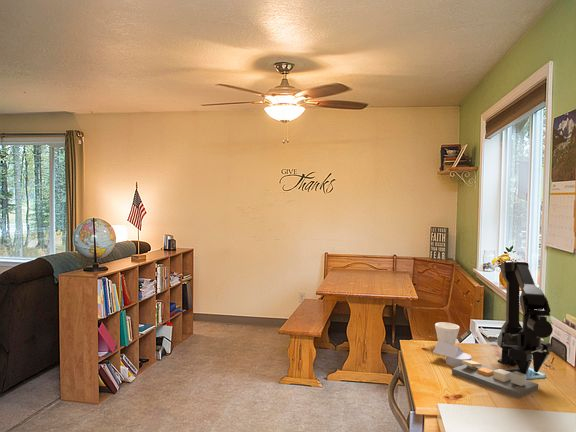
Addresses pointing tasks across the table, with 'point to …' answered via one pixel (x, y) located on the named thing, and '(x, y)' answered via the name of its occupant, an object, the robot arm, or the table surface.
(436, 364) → the table surface
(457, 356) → the wedge on round base
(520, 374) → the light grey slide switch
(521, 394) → the control panel
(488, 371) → the orange button
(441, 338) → the cup
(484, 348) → the table surface
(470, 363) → the cream rectangular plate
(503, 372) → the off-white button
